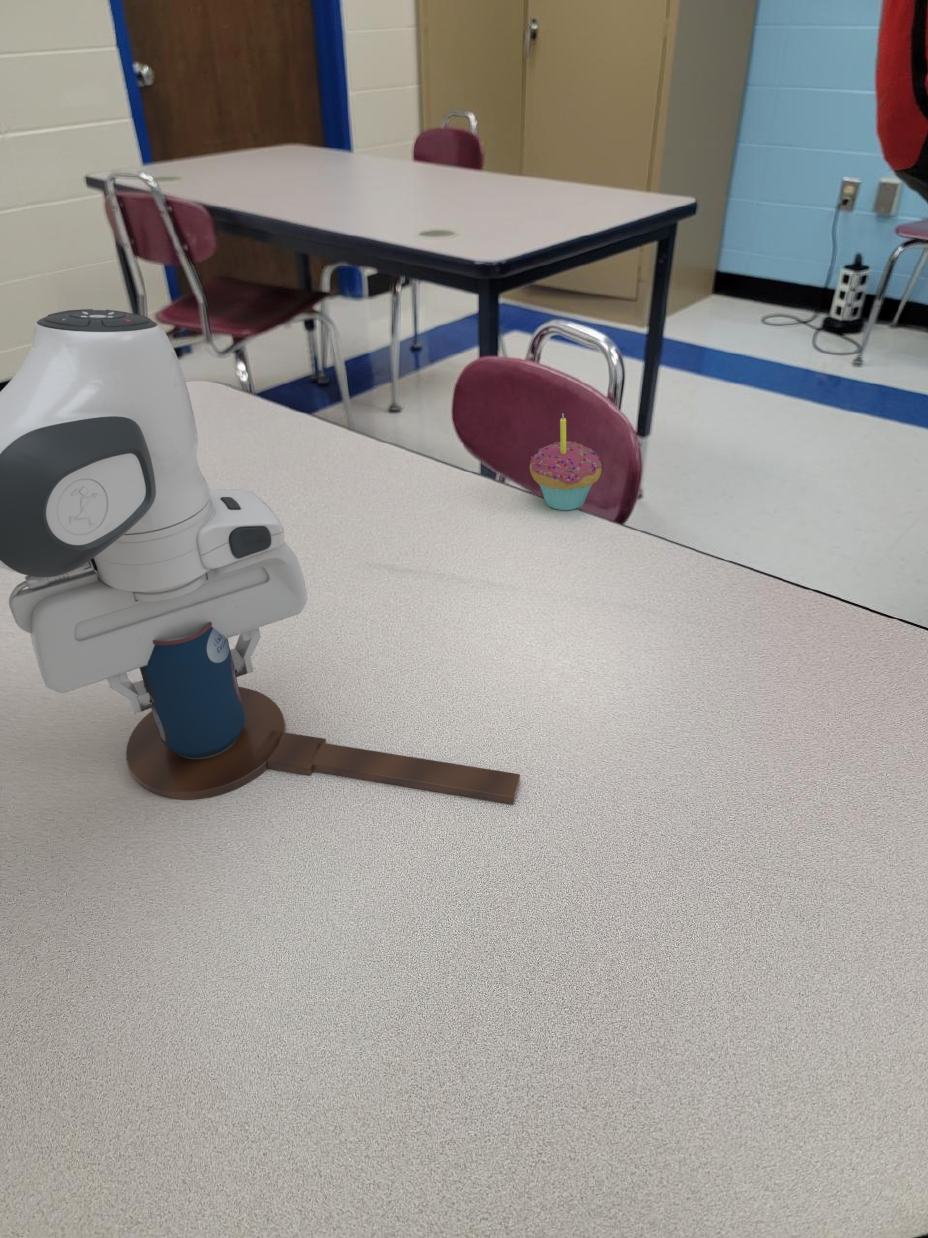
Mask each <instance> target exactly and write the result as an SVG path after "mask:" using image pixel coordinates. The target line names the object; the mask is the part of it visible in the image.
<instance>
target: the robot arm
mask: <svg viewBox="0 0 928 1238" xmlns="http://www.w3.org/2000/svg"><path fill="white" fill-rule="evenodd" d="M187 385H188V384H187V382H186V379H185V376H184V372H183V370H182V366H181V363H180V360H179V358H178V355H177V353H176V350H175V348H174V346H173V344H172V342H171V339H170V338H169V336H168V335H167V333H166V332H165V331H164V329H163V328H162V327H161V325H160V324H159V323H157V322H156V321H154V320H152V319H151V318H150V317H147V316H144V315H141V314H137V313H132V312H128V311H121V310H115V309H104V310H103V309H93V308H86V309H69V310H61V311H58V312H54V313H49V314H47V316H44V317H42V318H40V319H38V320H37V321H36V322H35V324H34V329H33V341H32V344H31V347H30V349H29V352H28V353H27V355H26V357H25V359H24V361H23V362H22V364H21V365H20V367H19V369H18V370H17V371H16V373H15V374H14V376H13V377H12V378H11V379H10V380H9V382H8V383H7V384H6V385H5V386H4V387H3V389H1V390H0V569H2V570H4V571H9V572H12V573H15V574H20V575H24V576H25V577H24V579H25V580H24V581H22V582H20V583H19V584H17V585H16V586H15V587H14V588H13V590H11V592H10V595H9V598H8V606H9V609H10V611H11V614H12V617H13V620H14V622H15V624H16V626H18V628H19V629H21V630H22V631H24V632H26V633H27V634H29V636H30V640H31V645H32V650H33V653H34V656H35V659H36V662H37V666H38V669H39V673H40V675H41V677H42V680H43V683H44V685H45V688H48V689H50V690H51V691H54V692H56V693H59V694H66V693H69V692H71V691H75V690H78V689H81V688H84V687H87V686H90V685H93V684H96V683H99V682H101V681H105V680H107V682H108V685H109V688H111V689H112V690H114V691H115V692H116V693H118V694H120V695H122V696H123V697H125V698H126V699H128V701H129V704H130V706H131V709H132V711H133V714H134V715H135V714H139V713H141V712H144V711H148V710H149V709H152V707H153V704H152V702H151V697H150V694H149V691H148V690H147V689H146V687H145V685H144V681H143V679H142V680H139V681H135V682H132V681H131V680H130V679H129V676H128V672H131V671H134V670H137V669H140V667H143V666H146V665H148V661H149V659H150V656H151V654H152V651H153V648H154V646H155V644H153V640H156V641H165V640H168V639H171V638H174V639H176V638H179V637H185V636H188V635H191V634H193V633H195V632H197V631H200V630H202V629H203V628H205V627H206V626H207V625H208V624H209V622H212V626H211V627H213V628H214V629H215V630H217V631H218V632H219V633H220V634H222V635H223V636H225V638H228V639H229V638H232V637H236V636H238V635H239V636H238V637H237V638H238V639H237V642H236V645H235V647H234V648H232V649H230V651H231V656H232V660H233V665H234V669H235V673H236V678H238V677H242V676H245V675H248V674H251V673H253V672H254V668H253V662H252V658H251V657H252V656H253V654H254V652H255V650H256V647H257V646H258V644H259V641H260V638H261V632H260V631H261V630H260V628H262V627H265V626H268V625H271V624H274V623H277V622H279V621H284V620H286V619H289V618H292V617H295V616H298V615H299V614H301V613H302V611H303V610H304V608H305V607H306V605H307V603H308V599H309V598H308V591H307V586H306V582H305V578H304V574H303V571H302V567H301V565H300V561H299V560H298V557H297V554H296V553H295V551H294V550H293V549H292V548H291V547H290V546H289V544H288V543H287V541H286V540H285V530H284V526H283V524H282V522H281V521H280V520H281V519H280V518H279V516H277V514H276V513H275V511H274V510H273V509H272V508H271V506H270V505H268V504H267V502H265V501H264V500H263V499H262V498H261V497H260V496H259V495H257V494H256V493H255V492H253V491H251V490H248V489H226V488H225V489H224V488H210V487H209V483H208V482H207V479H206V478H205V476H204V474H203V473H202V471H201V468H200V466H199V461H198V446H199V434H198V433H199V432H198V429H197V424H196V419H195V414H194V410H193V405H192V402H191V401H192V400H191V397H190V392H189V390H188V386H187Z"/></svg>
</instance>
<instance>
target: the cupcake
mask: <svg viewBox="0 0 928 1238" xmlns="http://www.w3.org/2000/svg"><path fill="white" fill-rule="evenodd" d="M559 426H560V427H559V428H560V429H559V431H560V432H559V433H560V434H559V435H560V436H559V437H560V441H555V442H552V443H551V444H548V445H546V446H544V447H542V448H538V450H537V451H536V452H535V454H534V455H533V456H530V461H529V471H530V475H531V477H532V479H533V480H534V481H535V482H536V483H537V484H538V486H539V487H540V490H541V492H542V496H543V500H544V503H545V504H546V505H547V506H548V507H550V508H551V509H555V510H559V511H572V510H576V509H580V507H583V505H584V504H585V502H586V499H587V496H588V494H589V492H590V489H591V488H592V485H593V484H595V483H597V482H598V480H599V479H600V478H601V475H602V470H603V469H602V467H603V466H602V464H603V462H602V461H601V458H600V457H599V455H598V454H597V453H596V452H595V450H593V449H592V448H589V447H587V446H586V445H583V444H582V443H578V442H577V441H570V440H567V418H565V413H564V412H563V413H561V418H560V420H559Z"/></svg>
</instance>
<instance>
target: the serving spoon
mask: <svg viewBox="0 0 928 1238" xmlns="http://www.w3.org/2000/svg"><path fill="white" fill-rule="evenodd" d="M238 687H239V691H240V696H241V700H242V705H243V709H244V713H245V722H244V726H243V728H242V731H241V733H240V734H239V736H238V738H237V740H236V741H235V743H234V744H233V745H232V746H231V747H230V748H229V749H227V750H226V751H224V752H223V753H221V754H219V755H216V756H214V757H210V758H206V759H188V758H185V757H182V756H180V755H178V754H177V753H175V752H173V751H172V750H170V749H169V748H168V747H167V746H165V745H164V743H163V742H162V740H161V738H160V735H159V732H158V729H157V725H156V722H155V719H154V715H153V712H152V710H151V711H149V712H148V713H147V714H146V715H145V716H143V718H141V720H140V721H139V722H138V723H137V724H136V726H135V727H134V729H133V730H132V732H131V734H130V736H129V738H128V741H127V745H126V749H125V755H126V762H127V766H128V769H129V771H130V773H131V776H132V777H133V778H134V780H135V781H136V782H137V783H138V784H139V785H140V786H142V787H143V788H144V789H146V790H147V791H149V792H151V793H153V794H156V795H158V796H162V797H166V798H169V799H177V800H198V799H205V798H210V797H215V796H219V795H222V794H226V793H228V792H232V791H234V790H236V789H239V788H241V787H243V786H245V785H247V784H248V783H250V782H252V781H254V780H255V779H257V778H258V777H259V776H260V775H262V774H263V773H264V772H265V771H266V770H268V769H270V770H276V771H282V772H287V773H294V774H300V775H307V776H312V774H313V773H314V772H317V773H322V774H329V775H335V776H341V777H347V778H354V779H357V780H358V779H360V780H364V781H370V782H376V783H382V784H389V785H395V786H401V787H407V788H412V789H419V790H426V791H431V792H438V793H442V794H443V793H444V794H449V795H456V796H459V797H460V796H462V797H466V798H474V799H478V800H479V799H480V800H484V801H491V802H498V803H503V804H510V805H514V804H515V802H516V797H517V794H518V790H519V787H520V783H521V774H520V773H517V772H516V773H515V772H508V771H502V770H497V769H490V768H483V767H477V766H471V765H465V764H459V763H452V762H446V761H440V760H433V759H427V758H421V757H415V756H408V755H402V754H396V753H395V754H394V753H389V752H384V751H377V750H370V749H364V748H357V747H352V746H345V745H339V744H333V743H327V739H326V738H323V737H317V736H312V735H305V734H304V735H303V734H297V733H291V732H287V727H286V722H285V717H284V714H283V712H282V710H281V708H280V707H279V705H278V704H277V703H276V702H275V701H274V700H272V699H271V697H269V696H267V695H265V694H264V693H262V692H259V691H257V690H254V689H251V688H247V687H243V686H238Z"/></svg>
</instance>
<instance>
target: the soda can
mask: <svg viewBox="0 0 928 1238" xmlns="http://www.w3.org/2000/svg"><path fill="white" fill-rule="evenodd" d="M211 626H212V622H209V624H208V625H207V626H206V627H205V628H203V629H202V630H200V631H197V632H195V633H193V634H191V635H188V636H185V637H179V638H176V639H174V638H171V639H168V640H165V641H156V640H153V644H155V646H154V648H153V651H152V654H151V656H150V659H149V661H148V665H146V666H143V667H140V668H139V671H140V675H141V677H142V680H143V681H144V685H145V687H146V689H147V690H148V691H149V694H150V697H151V702H152V704H153V707H152V708H151V711H152V712H153V715H154V719H155V722H156V725H157V729H158V732H159V735H160V738H161V740H162V742H163V743H164V745H165V746H167V747H168V748H169V749H170V750H172V751H173V752H175V753H177V754H178V755H180V756H182V757H185V758H188V759H206V758H210V757H214V756H216V755H219V754H221V753H223V752H224V751H226V750H227V749H229V748H230V747H231V746H232V745H233V744H234V743H235V741H236V740H237V738H238V736H239V734H240V733H241V731H242V728H243V726H244V722H245V713H244V709H243V705H242V700H241V696H240V691H239V687H240V686H239V683H238V677H236V673H235V669H234V665H233V660H232V656H231V651H230V650H231V647H230V643H229V638H225V636H223V635H222V634H220V633H219V632H218V631H217V630H215V629H214V628H213V627H211Z"/></svg>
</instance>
